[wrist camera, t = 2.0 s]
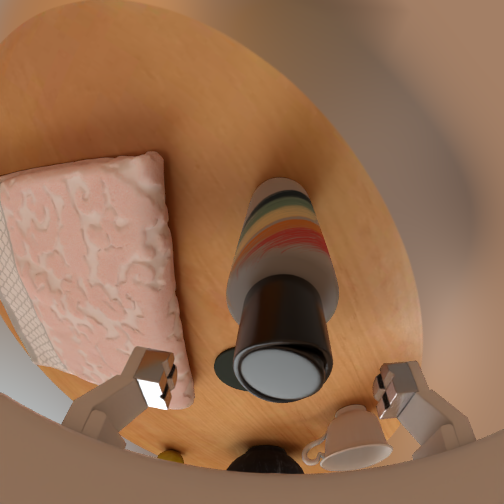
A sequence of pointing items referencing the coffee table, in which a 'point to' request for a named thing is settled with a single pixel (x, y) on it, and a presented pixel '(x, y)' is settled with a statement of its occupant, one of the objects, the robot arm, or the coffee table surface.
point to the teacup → (351, 441)
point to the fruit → (171, 456)
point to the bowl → (266, 461)
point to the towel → (92, 267)
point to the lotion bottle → (282, 296)
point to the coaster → (227, 369)
